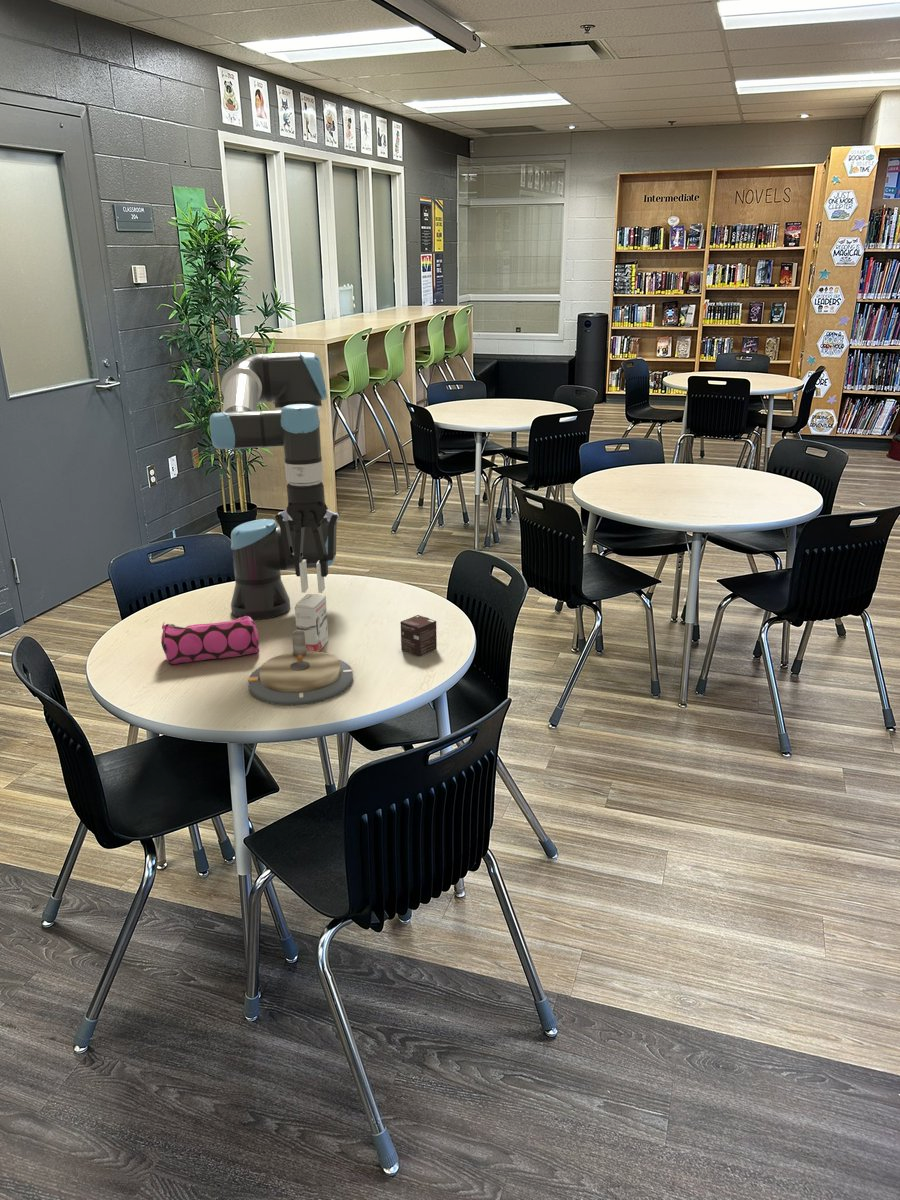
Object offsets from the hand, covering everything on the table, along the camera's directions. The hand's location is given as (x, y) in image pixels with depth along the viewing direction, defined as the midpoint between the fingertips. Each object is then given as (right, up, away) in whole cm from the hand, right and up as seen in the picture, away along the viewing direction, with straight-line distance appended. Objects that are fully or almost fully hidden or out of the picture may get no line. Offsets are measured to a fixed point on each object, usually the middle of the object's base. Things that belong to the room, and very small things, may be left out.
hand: (313, 590), depth 190 cm
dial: (-3, -18, 0) cm, 18 cm away
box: (+22, -14, +16) cm, 30 cm away
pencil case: (-25, -16, +14) cm, 33 cm away
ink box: (-3, -13, +19) cm, 23 cm away
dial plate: (-3, -20, 0) cm, 20 cm away
